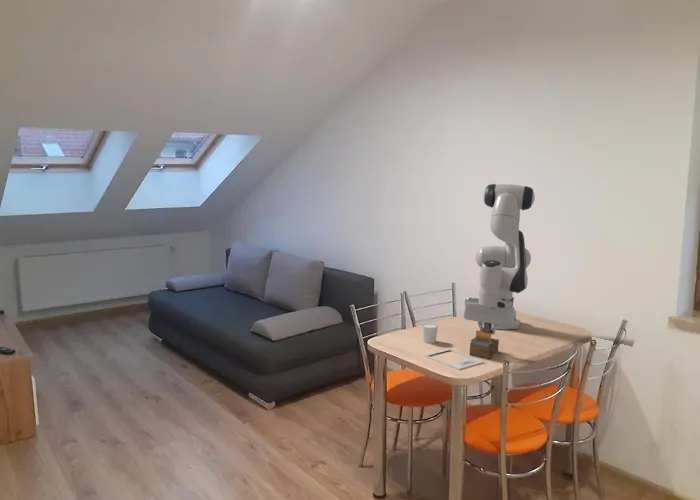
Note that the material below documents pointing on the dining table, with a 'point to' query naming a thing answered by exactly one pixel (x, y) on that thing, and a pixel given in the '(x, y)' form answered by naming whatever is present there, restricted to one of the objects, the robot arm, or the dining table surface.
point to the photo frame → (460, 364)
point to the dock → (484, 349)
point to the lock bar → (482, 339)
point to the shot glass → (429, 333)
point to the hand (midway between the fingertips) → (487, 333)
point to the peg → (487, 327)
